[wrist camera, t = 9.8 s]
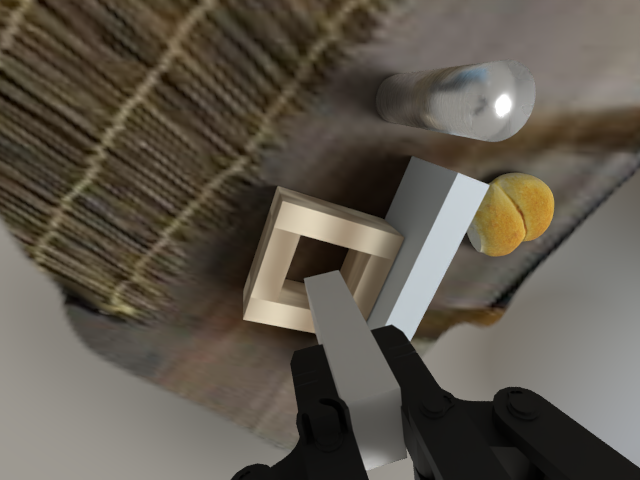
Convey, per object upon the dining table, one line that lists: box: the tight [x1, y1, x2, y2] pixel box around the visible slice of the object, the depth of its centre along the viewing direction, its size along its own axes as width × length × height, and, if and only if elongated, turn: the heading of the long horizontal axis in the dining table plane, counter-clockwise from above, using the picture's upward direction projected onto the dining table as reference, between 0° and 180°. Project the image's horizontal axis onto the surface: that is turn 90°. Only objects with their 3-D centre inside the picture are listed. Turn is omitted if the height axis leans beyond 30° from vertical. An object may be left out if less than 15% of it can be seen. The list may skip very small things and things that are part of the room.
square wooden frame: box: [243, 186, 405, 333], centre depth 33 cm, size 11×11×5 cm
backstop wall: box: [366, 156, 490, 341], centre depth 34 cm, size 3×24×8 cm, turn 160°
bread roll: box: [466, 173, 554, 256], centre depth 36 cm, size 8×9×4 cm
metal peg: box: [376, 60, 536, 142], centre depth 25 cm, size 4×4×14 cm
